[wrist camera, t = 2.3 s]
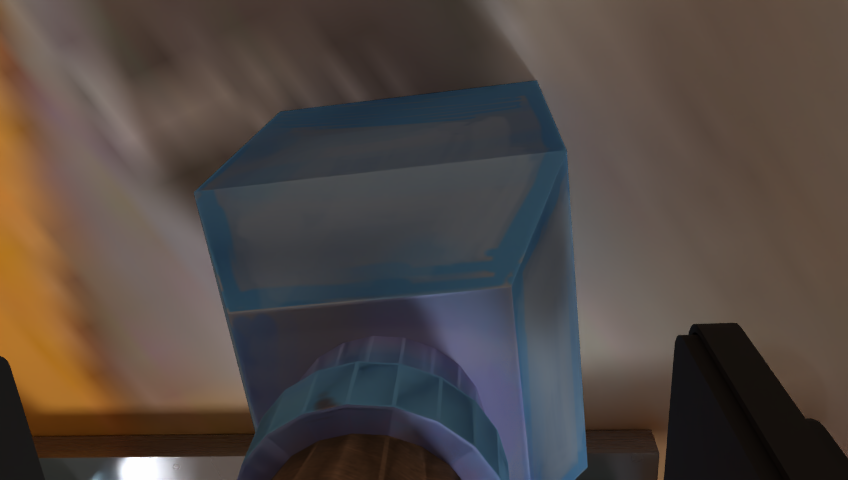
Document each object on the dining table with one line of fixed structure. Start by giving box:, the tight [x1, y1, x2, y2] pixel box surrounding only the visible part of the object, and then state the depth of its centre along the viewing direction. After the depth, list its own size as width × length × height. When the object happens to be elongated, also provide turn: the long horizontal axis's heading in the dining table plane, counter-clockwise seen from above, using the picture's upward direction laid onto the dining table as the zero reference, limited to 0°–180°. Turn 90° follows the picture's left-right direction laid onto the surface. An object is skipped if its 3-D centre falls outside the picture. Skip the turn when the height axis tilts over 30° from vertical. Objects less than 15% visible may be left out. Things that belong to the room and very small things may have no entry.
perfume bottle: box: [194, 80, 588, 480], centre depth 14 cm, size 6×6×12 cm
